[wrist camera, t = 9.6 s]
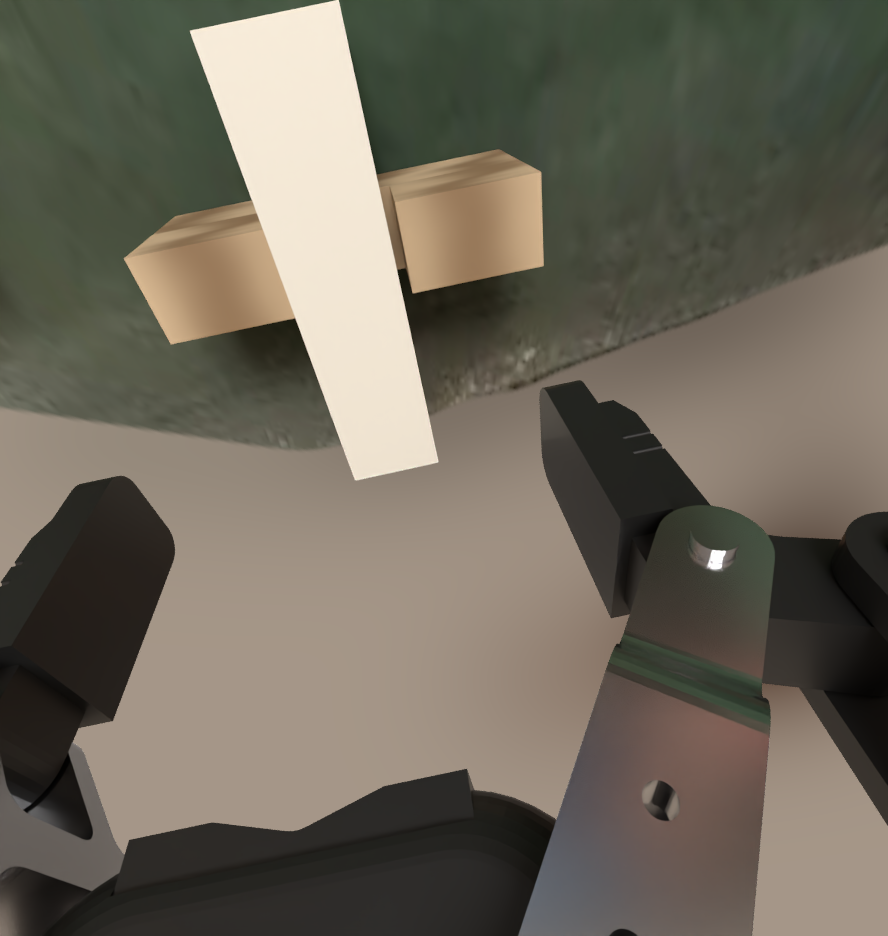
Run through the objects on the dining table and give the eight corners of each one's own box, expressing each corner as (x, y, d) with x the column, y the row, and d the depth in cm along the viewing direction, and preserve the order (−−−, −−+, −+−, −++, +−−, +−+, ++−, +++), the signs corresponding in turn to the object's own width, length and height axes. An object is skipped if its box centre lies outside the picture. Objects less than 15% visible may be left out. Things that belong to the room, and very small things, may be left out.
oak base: (498, 149, 24) (541, 171, 19) (504, 226, 26) (543, 266, 21) (175, 216, 24) (123, 258, 19) (208, 287, 26) (171, 344, 21)
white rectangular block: (262, 48, 21) (189, 31, 11) (344, 32, 21) (338, -1, 11) (354, 352, 30) (355, 480, 20) (411, 340, 30) (438, 462, 20)
